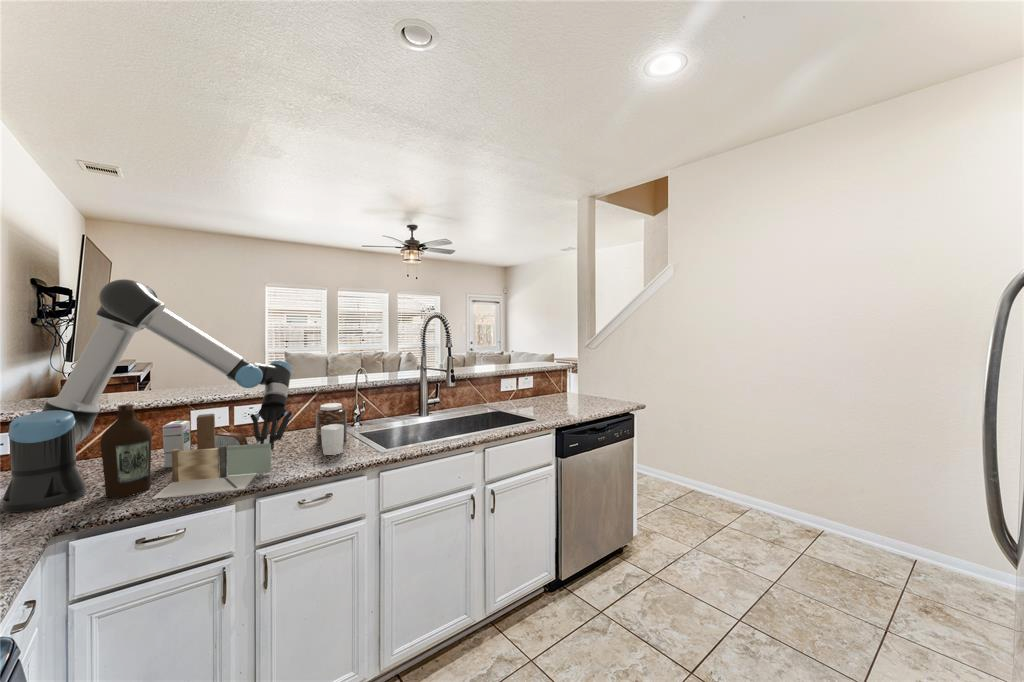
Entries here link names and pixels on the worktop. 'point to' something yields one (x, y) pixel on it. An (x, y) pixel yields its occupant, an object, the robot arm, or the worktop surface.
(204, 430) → the wooden block
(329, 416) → the jar
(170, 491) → the card
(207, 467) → the fixed fence section
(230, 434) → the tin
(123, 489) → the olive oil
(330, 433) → the white cup
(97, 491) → the worktop surface
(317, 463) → the worktop surface
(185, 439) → the syrup box
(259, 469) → the hinged fence section
